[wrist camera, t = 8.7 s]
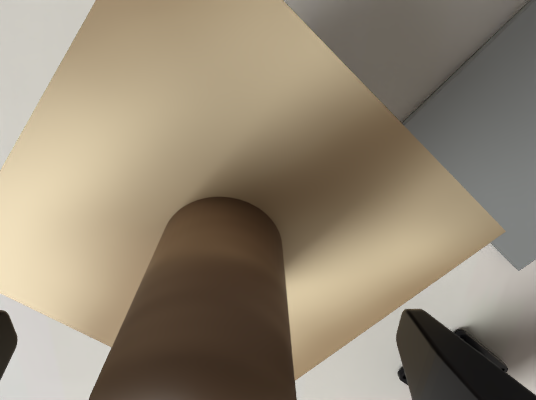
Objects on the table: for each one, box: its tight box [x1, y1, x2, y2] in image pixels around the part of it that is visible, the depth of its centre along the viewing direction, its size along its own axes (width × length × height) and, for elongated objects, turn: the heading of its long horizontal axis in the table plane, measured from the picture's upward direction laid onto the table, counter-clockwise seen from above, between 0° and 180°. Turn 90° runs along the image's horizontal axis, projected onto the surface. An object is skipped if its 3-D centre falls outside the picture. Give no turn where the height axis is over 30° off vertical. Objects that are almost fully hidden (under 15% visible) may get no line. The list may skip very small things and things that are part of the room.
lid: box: [0, 0, 506, 400], centre depth 9 cm, size 12×12×6 cm
